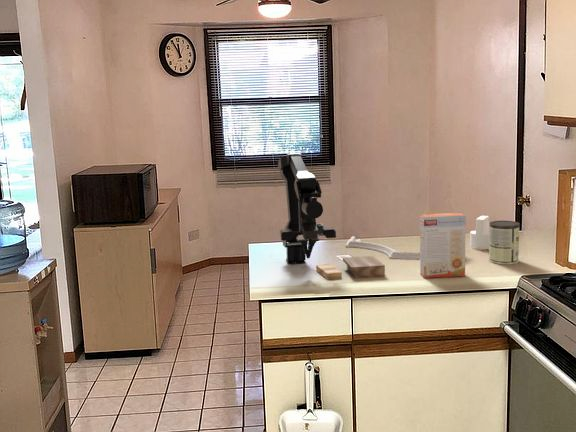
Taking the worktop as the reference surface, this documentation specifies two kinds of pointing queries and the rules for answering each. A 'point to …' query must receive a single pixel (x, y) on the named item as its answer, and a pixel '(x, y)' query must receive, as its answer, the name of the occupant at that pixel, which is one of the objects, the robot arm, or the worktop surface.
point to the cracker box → (442, 245)
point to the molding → (382, 249)
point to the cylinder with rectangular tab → (480, 234)
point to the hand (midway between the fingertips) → (308, 258)
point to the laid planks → (365, 266)
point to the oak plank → (328, 271)
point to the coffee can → (504, 242)
